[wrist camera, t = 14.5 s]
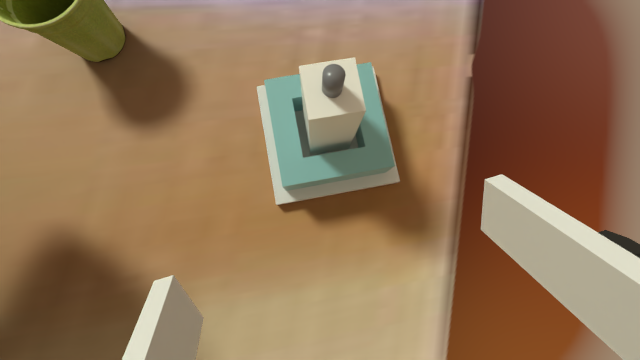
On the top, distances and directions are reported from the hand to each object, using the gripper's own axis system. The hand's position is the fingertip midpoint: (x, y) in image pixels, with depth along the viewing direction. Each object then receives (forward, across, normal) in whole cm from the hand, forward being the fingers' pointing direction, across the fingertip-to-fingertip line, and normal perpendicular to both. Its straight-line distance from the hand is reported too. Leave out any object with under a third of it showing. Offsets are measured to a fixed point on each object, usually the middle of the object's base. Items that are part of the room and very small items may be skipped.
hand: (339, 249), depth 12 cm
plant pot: (+34, -19, +11) cm, 41 cm away
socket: (+22, +3, -4) cm, 23 cm away
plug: (+22, +3, -3) cm, 22 cm away
